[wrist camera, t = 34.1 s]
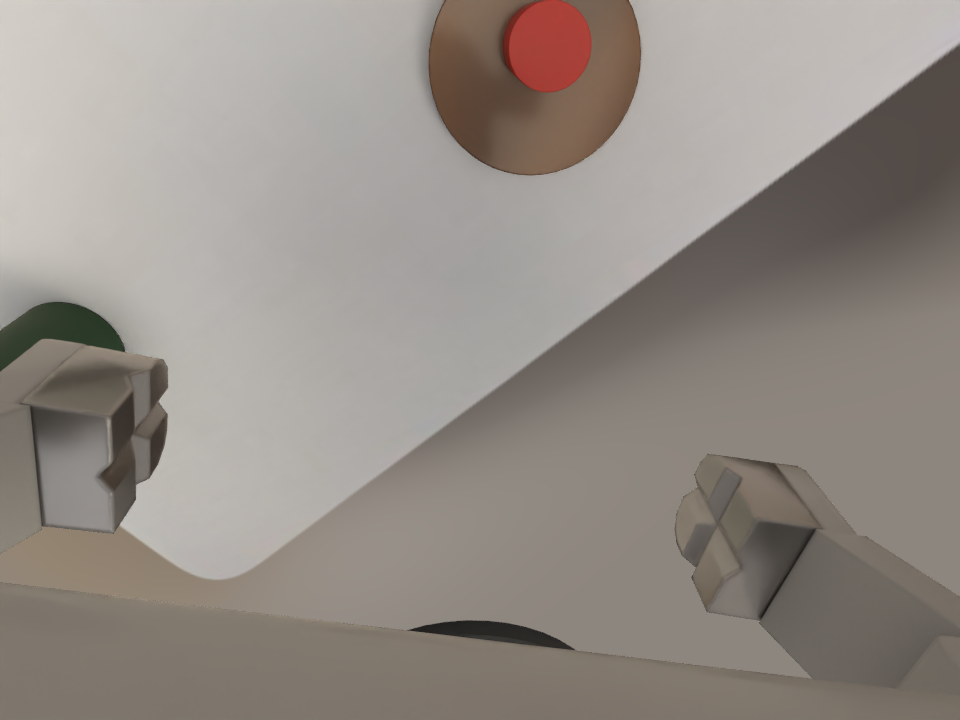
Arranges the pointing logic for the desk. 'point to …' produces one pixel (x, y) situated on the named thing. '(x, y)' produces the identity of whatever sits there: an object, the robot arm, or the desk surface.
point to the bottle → (55, 330)
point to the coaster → (519, 109)
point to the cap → (547, 45)
